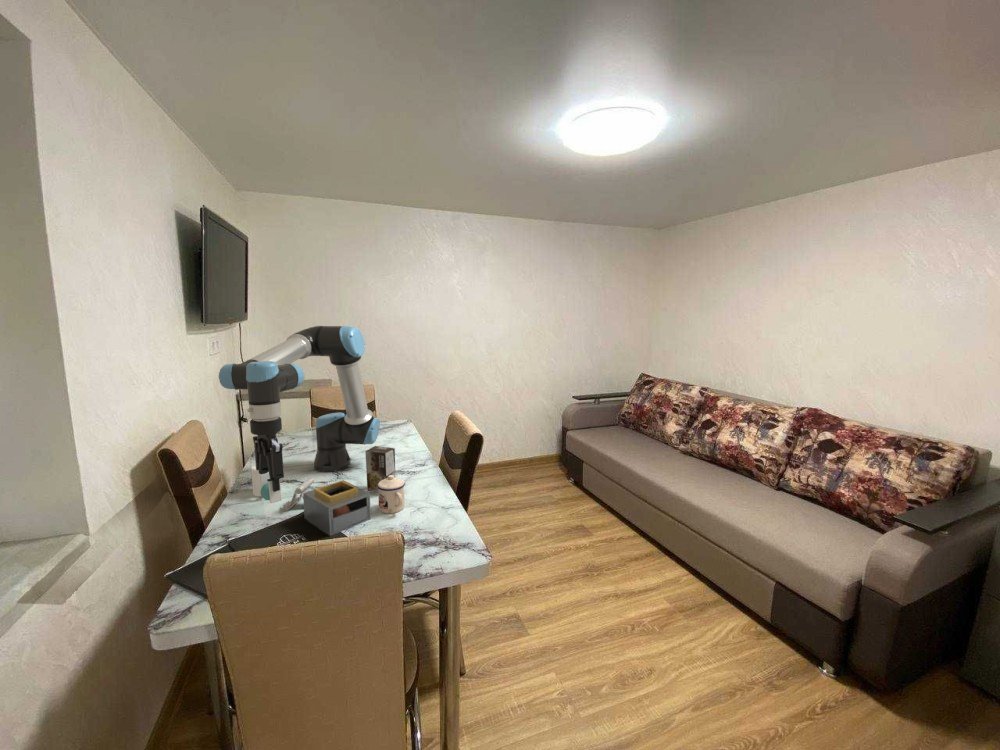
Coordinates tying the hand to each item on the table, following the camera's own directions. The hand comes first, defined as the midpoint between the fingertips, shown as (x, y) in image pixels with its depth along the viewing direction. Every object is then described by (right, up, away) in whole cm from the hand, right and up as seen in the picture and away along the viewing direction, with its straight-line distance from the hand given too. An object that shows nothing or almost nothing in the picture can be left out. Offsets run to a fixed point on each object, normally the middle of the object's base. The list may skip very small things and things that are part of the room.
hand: (271, 498), depth 116 cm
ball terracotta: (+12, -10, +17) cm, 23 cm away
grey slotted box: (+12, -12, +18) cm, 25 cm away
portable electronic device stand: (-5, -11, +27) cm, 30 cm away
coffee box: (+19, -9, +41) cm, 46 cm away
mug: (-22, -9, +36) cm, 44 cm away
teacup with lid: (+28, -12, +25) cm, 39 cm away
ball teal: (0, 0, 0) cm, 0 cm away
